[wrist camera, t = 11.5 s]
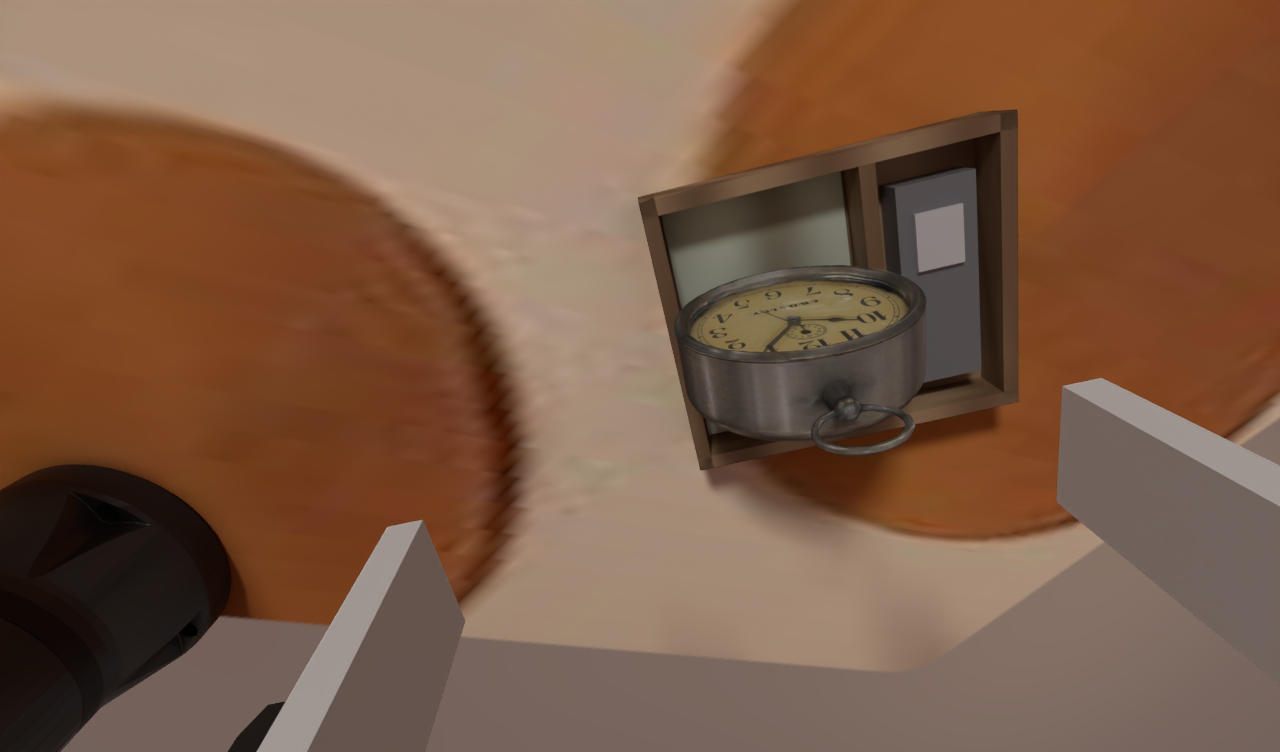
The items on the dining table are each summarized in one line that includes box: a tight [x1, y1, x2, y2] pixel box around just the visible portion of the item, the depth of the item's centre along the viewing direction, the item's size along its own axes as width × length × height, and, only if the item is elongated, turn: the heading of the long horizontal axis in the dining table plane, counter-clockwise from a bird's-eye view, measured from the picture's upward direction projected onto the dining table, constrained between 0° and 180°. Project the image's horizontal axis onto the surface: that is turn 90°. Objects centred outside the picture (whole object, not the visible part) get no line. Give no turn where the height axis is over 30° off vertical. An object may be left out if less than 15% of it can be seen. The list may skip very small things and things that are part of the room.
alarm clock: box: [674, 265, 927, 456], centre depth 27 cm, size 11×5×16 cm, turn 101°
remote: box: [879, 167, 981, 383], centre depth 33 cm, size 4×11×2 cm, turn 13°
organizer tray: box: [638, 110, 1018, 470], centre depth 33 cm, size 18×16×3 cm
